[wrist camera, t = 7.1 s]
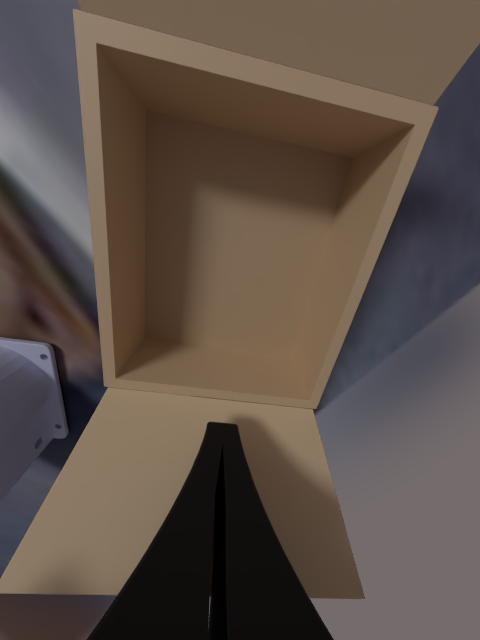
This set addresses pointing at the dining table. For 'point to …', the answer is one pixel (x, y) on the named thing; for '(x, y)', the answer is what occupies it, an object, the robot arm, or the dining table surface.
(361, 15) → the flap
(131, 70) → the carton
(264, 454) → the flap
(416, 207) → the dining table surface
